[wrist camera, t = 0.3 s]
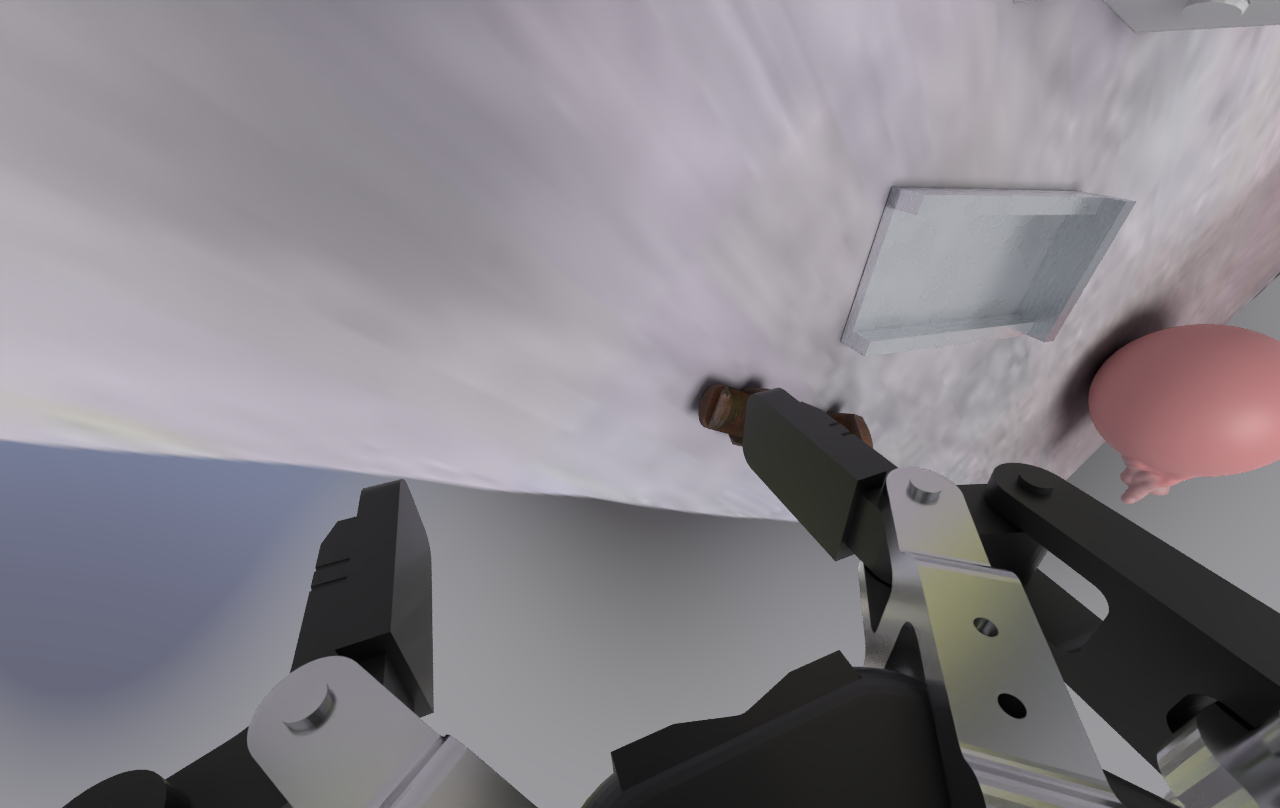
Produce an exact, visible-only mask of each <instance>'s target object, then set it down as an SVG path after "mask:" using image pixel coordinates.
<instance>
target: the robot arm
mask: <svg viewBox="0 0 1280 808" xmlns="http://www.w3.org/2000/svg"><path fill="white" fill-rule="evenodd" d="M743 452H744V456H745V459H746V461H747V463H748V465H749V466H750V468H751V469H752V470H753V471H754V472H755V473H756V474H757V475H758V476H759V478H760V479H761V480H762V481H763V482H764V483H765V484H766V485H767V486H768V488H769V489H770V490H771V491H772V492H773V493H774V494H775V495H776V496H777V497H778V499H779V500H780V501H781V502H782V503H783V504H784V505H785V506H786V507H787V508H788V510H789V511H790V512H791V513H792V514H793V515H794V516H795V517H796V518H797V520H798V521H799V522H800V523H801V524H802V525H803V526H804V527H805V528H806V529H807V531H808V532H809V533H810V534H811V535H812V536H813V537H814V538H815V539H816V540H817V542H818V543H819V544H820V545H821V546H822V547H823V548H824V549H825V550H826V551H827V553H828V554H829V555H830V556H831V557H832V558H833V559H834V560H835V561H838V560H840V559H843V558H845V557H848V556H851V555H853V554H855V555H856V556H857V557H858V558H859V559H860V563H859V567H858V577H859V587H860V596H861V605H862V615H863V624H864V634H865V659H864V666H863V667H852V666H851V664H849V662H848V661H847V659H846V658H845V657H844V656H843V654H842V653H841V651H840V650H839V651H836V652H834V653H832V654H829V655H827V656H825V657H823V658H820V659H818V660H816V661H814V662H811V663H809V664H807V665H805V666H803V667H800V668H798V669H796V670H794V671H791V672H789V673H788V674H787V675H786V676H785V677H784V678H783V679H782V680H781V681H780V682H778V684H776V685H775V686H774V687H773V688H772V689H771V690H770V691H769V692H768V693H766V694H765V695H764V696H763V697H762V698H761V699H760V700H759V701H758V702H757V703H756V704H755V705H753V706H752V707H751V708H750V709H749V710H748V711H746V712H745V713H743V714H741V715H738V716H731V717H724V718H716V719H708V720H701V721H693V722H686V723H678V724H673V725H670V726H668V727H666V728H664V729H662V730H659V731H657V732H655V733H653V734H650V735H648V736H646V737H644V738H641V739H639V740H637V741H635V742H632V743H630V744H628V745H626V746H624V747H621V748H619V749H617V750H615V751H612V752H611V757H612V764H613V771H614V773H613V774H612V775H611V776H609V777H608V778H607V779H606V780H605V781H604V782H603V783H602V784H600V786H599V787H598V788H597V789H596V790H595V791H594V792H593V793H592V795H591V796H590V797H589V798H588V799H587V800H586V802H585V803H584V805H583V806H582V807H581V808H1280V613H1278V612H1276V611H1275V610H1273V609H1272V608H1270V607H1268V606H1267V605H1265V604H1264V603H1262V602H1260V601H1259V600H1257V599H1255V598H1254V597H1252V596H1251V595H1249V594H1247V593H1246V592H1244V591H1243V590H1241V589H1239V588H1238V587H1236V586H1235V585H1233V584H1231V583H1230V582H1228V581H1227V580H1225V579H1223V578H1222V577H1220V576H1218V575H1217V574H1215V573H1213V572H1212V571H1210V570H1208V569H1207V568H1205V567H1204V566H1202V565H1201V564H1199V563H1197V562H1196V561H1194V560H1193V559H1191V558H1189V557H1187V556H1186V555H1185V554H1183V553H1181V552H1180V551H1178V550H1176V549H1175V548H1173V547H1172V546H1170V545H1168V544H1167V543H1165V542H1163V541H1162V540H1160V539H1159V538H1157V537H1156V536H1154V535H1152V534H1151V533H1149V532H1147V531H1146V530H1144V529H1143V528H1141V527H1139V526H1138V525H1136V524H1135V523H1133V522H1131V521H1130V520H1128V519H1127V518H1125V517H1123V516H1122V515H1120V514H1118V513H1117V512H1115V511H1114V510H1112V509H1110V508H1109V507H1107V506H1105V505H1104V504H1102V503H1101V502H1099V501H1098V500H1096V499H1094V498H1093V497H1091V496H1089V495H1088V494H1086V493H1085V492H1083V491H1081V490H1080V489H1078V488H1077V487H1075V486H1073V485H1072V484H1070V483H1068V482H1067V481H1065V480H1064V479H1062V478H1061V477H1059V476H1057V475H1055V474H1053V473H1051V472H1049V471H1047V470H1044V469H1042V468H1039V467H1036V466H1032V465H1028V464H1022V463H1006V464H1001V465H999V466H997V467H996V468H995V469H994V471H993V473H992V475H991V477H990V479H989V482H988V484H971V485H955V484H954V483H953V482H952V481H951V480H949V479H948V478H946V477H944V476H943V475H940V474H938V473H936V472H933V471H931V470H927V469H924V468H918V467H901V468H898V467H896V466H895V465H894V464H892V463H891V462H890V461H888V460H887V459H886V458H884V457H883V456H882V455H881V454H879V453H878V452H877V451H875V450H874V449H873V448H871V447H870V446H869V445H867V444H866V443H865V442H863V441H862V440H861V439H859V438H858V437H857V436H856V435H854V434H851V433H850V431H849V430H848V429H846V428H845V427H844V426H842V425H841V424H840V425H838V422H837V421H836V420H834V419H833V418H832V417H830V416H829V415H828V414H827V413H825V412H824V411H823V410H820V409H818V408H816V407H813V406H811V405H808V404H806V403H804V402H799V401H797V400H796V399H795V398H794V397H792V396H791V395H790V394H789V393H787V392H786V391H785V390H783V389H781V388H775V389H771V390H767V391H763V392H758V393H754V394H751V395H750V396H749V397H748V400H747V405H746V415H745V425H744V435H743ZM1047 551H1050V552H1051V553H1052V554H1054V555H1055V556H1056V557H1058V558H1059V559H1061V560H1062V561H1063V562H1064V563H1066V564H1067V565H1068V566H1070V567H1071V568H1072V569H1073V570H1075V571H1076V572H1077V573H1079V574H1080V575H1082V576H1083V577H1084V578H1085V579H1087V580H1088V581H1089V582H1091V583H1092V584H1093V585H1095V586H1096V587H1097V588H1098V589H1099V590H1100V591H1101V592H1102V594H1103V595H1104V596H1105V598H1106V600H1107V602H1108V605H1109V613H1108V615H1107V617H1106V618H1105V620H1104V621H1102V620H1101V619H1100V618H1099V617H1097V616H1096V615H1095V614H1093V613H1092V612H1091V611H1090V610H1089V609H1087V608H1086V607H1085V606H1083V605H1082V604H1081V603H1080V602H1079V601H1077V600H1076V599H1075V598H1074V597H1072V596H1071V595H1070V594H1069V593H1067V592H1066V591H1065V590H1064V589H1062V588H1061V587H1060V586H1059V585H1057V584H1056V583H1055V582H1054V581H1052V580H1051V579H1050V578H1049V577H1048V576H1046V575H1045V574H1044V573H1042V572H1041V571H1040V570H1039V569H1038V568H1037V567H1038V566H1039V564H1040V563H1041V561H1042V559H1043V558H1044V556H1045V555H1046V553H1047ZM431 577H432V571H431V553H430V547H429V542H428V538H427V534H426V531H425V529H424V526H423V523H422V521H421V518H420V516H419V513H418V511H417V508H416V505H415V503H414V500H413V498H412V495H411V493H410V490H409V488H408V485H407V483H406V482H405V480H404V479H400V480H396V481H392V482H388V483H384V484H380V485H376V486H372V487H368V488H364V489H363V490H362V491H361V496H360V501H359V507H358V513H357V517H353V518H349V519H345V520H342V521H338V522H337V523H336V524H335V526H334V527H333V529H332V530H331V531H330V533H329V534H328V535H327V537H326V538H325V539H324V541H323V542H322V544H321V546H320V550H319V555H318V559H317V563H316V572H314V576H313V580H312V585H311V589H312V591H311V592H309V597H308V601H307V605H306V609H305V613H304V618H303V622H302V626H301V631H300V634H299V639H298V643H297V647H296V651H295V655H294V660H293V664H292V668H291V671H290V674H289V675H287V676H286V677H285V678H283V679H282V680H281V681H280V682H279V683H278V684H277V685H276V686H274V687H273V689H272V690H271V691H270V692H269V693H268V694H267V695H266V696H265V698H264V699H263V701H262V702H261V703H260V705H259V706H258V708H257V709H256V711H255V713H254V715H253V717H252V720H251V722H250V724H249V726H248V727H247V728H246V729H244V730H243V731H242V732H240V733H239V734H238V735H236V736H235V737H233V738H232V739H230V740H229V741H227V742H225V743H224V744H222V745H221V746H219V747H217V748H216V749H214V750H213V751H211V752H209V753H208V754H206V755H204V756H203V757H201V758H199V759H198V760H196V761H195V762H193V763H191V764H190V765H188V766H186V767H185V768H183V769H182V770H180V771H179V772H177V773H175V774H174V775H172V776H170V777H169V778H167V779H163V778H162V777H161V776H160V775H158V774H157V773H155V772H153V771H149V770H134V771H128V772H124V773H121V774H118V775H115V776H113V777H111V778H108V779H106V780H104V781H102V782H100V783H98V784H96V785H94V786H93V787H91V788H90V789H87V790H86V791H84V792H83V793H82V794H80V795H79V796H77V797H76V798H74V799H73V800H71V801H70V802H69V803H68V804H66V805H65V806H64V807H63V808H537V807H536V806H535V805H534V804H533V803H531V802H530V801H529V800H528V799H526V798H525V797H524V796H523V795H522V794H521V793H520V792H519V791H518V790H516V789H515V788H514V787H513V786H512V785H510V784H509V783H508V782H507V781H506V780H505V779H504V778H502V777H501V776H500V775H499V774H498V773H497V772H495V771H494V770H493V769H492V768H491V767H490V766H488V765H487V764H486V763H485V762H484V761H483V760H481V759H480V758H479V757H478V756H477V755H476V754H475V753H473V752H472V751H471V750H470V749H469V748H467V747H466V746H465V745H464V744H463V743H461V742H460V741H458V740H457V739H456V738H454V737H452V736H450V735H446V736H445V737H443V736H441V735H439V734H438V733H437V732H435V731H434V730H433V729H432V728H431V727H429V726H428V725H427V724H426V723H425V722H424V721H423V720H421V719H420V717H423V716H426V715H428V714H431V713H433V712H434V711H433V710H434V708H433V642H432V641H433V639H432V578H431ZM1064 682H1065V683H1066V684H1067V685H1068V686H1069V687H1070V688H1072V690H1073V691H1075V692H1076V693H1077V694H1078V695H1079V696H1080V697H1081V698H1082V699H1083V700H1084V701H1085V702H1086V703H1087V704H1088V705H1089V706H1090V707H1091V708H1092V709H1094V711H1095V712H1096V713H1098V714H1099V715H1100V716H1101V717H1102V718H1103V719H1104V720H1105V721H1106V722H1107V723H1108V724H1109V725H1110V726H1111V727H1112V728H1113V729H1114V730H1115V731H1117V732H1118V734H1120V735H1121V736H1122V737H1123V738H1124V739H1125V740H1126V741H1127V742H1128V743H1129V744H1130V745H1131V746H1132V747H1133V748H1134V749H1135V750H1136V751H1137V752H1138V753H1139V754H1141V756H1142V757H1144V758H1145V759H1146V760H1147V761H1148V762H1149V763H1150V764H1151V765H1152V766H1153V767H1154V768H1155V769H1156V770H1157V771H1158V772H1159V773H1160V774H1161V775H1162V776H1163V778H1164V779H1165V781H1166V783H1167V784H1168V786H1169V788H1170V789H1171V790H1170V791H1169V792H1167V793H1166V795H1165V797H1164V799H1163V798H1161V797H1159V796H1157V795H1155V794H1153V793H1150V792H1149V791H1146V790H1144V789H1142V788H1140V787H1138V786H1136V785H1134V784H1132V783H1130V782H1128V781H1126V780H1124V779H1122V778H1120V777H1118V776H1116V775H1114V774H1112V773H1109V772H1108V771H1105V770H1103V769H1102V768H1101V766H1100V763H1099V761H1098V759H1097V757H1096V754H1095V752H1094V749H1093V747H1092V745H1091V743H1090V740H1089V738H1088V736H1087V733H1086V731H1085V729H1084V726H1083V724H1082V722H1081V720H1080V718H1079V715H1078V713H1077V711H1076V708H1075V706H1074V704H1073V701H1072V699H1071V697H1070V694H1069V692H1068V690H1067V688H1066V685H1065V683H1064Z"/></svg>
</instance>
